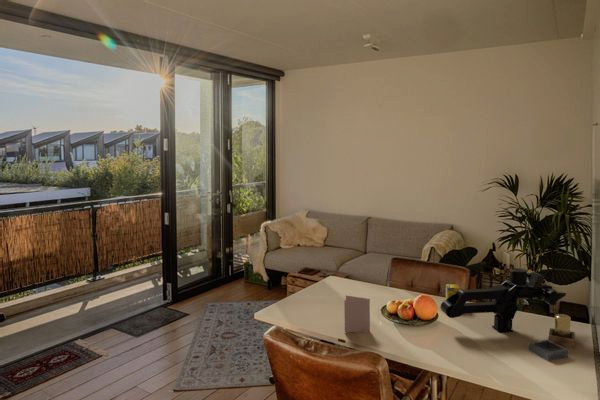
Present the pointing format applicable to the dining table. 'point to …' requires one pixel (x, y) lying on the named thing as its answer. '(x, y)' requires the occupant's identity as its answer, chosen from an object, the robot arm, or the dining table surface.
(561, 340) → the walnut socket
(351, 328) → the greeting card
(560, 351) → the tray
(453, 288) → the supplement box
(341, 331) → the dining table surface
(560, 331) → the tan cylinder
